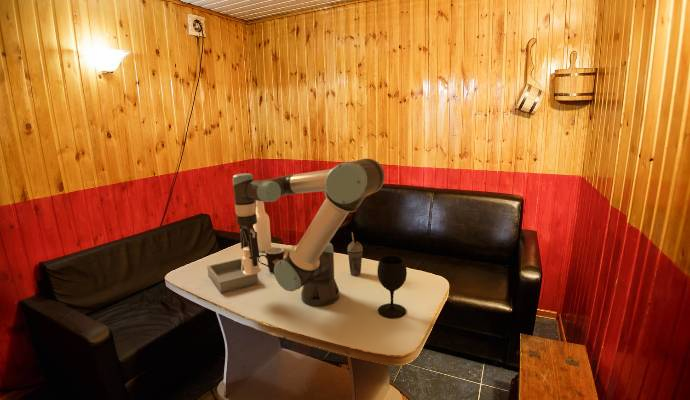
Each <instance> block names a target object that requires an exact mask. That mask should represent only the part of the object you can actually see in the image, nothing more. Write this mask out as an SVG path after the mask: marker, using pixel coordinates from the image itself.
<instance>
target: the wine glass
mask: <svg viewBox="0 0 690 400" xmlns="http://www.w3.org/2000/svg"><path fill="white" fill-rule="evenodd" d="M376 270H377V279H378V281H379V283H380V284H381V286H383V288H384V289H385V290H387V291H389V294H390V296H389V297H390V302H389V303H384V304H382V305H379V306H378V309H377V312H378V315H380V316H381V317H383V318H387V319H400V318H402V317H404V316H405V315H406V314H407V309H406V308H405V307H404V305H401V304H398V303H394V295H395V294H394V293H395V292H396V291H398V290H400V288H402V286H403V285H404V284H405V283H406V279H407V275H408V273H407V271H408V270H407V265H406V261H405V259H404V258H403V257H401V256H400V255H399V256H398V255H385V256H382V257H380V259H379V261H378V264H377V269H376Z"/></svg>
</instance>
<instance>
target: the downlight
mask: <svg viewBox="0 0 690 400" xmlns="http://www.w3.org/2000/svg"><path fill="white" fill-rule="evenodd" d="M242 254H243V255H242V257H241V258H242V259H243V260H242V266H243V265H244V271H243V274H245V275H253V274H251V264H250V259H249V257H251V256H250V251H249V246H247V247H244V248H243V249H242ZM257 259H258V257H257ZM259 261H260V262H259ZM259 261H258V269H259V273H260V272H261V271H262V268H261V265H262V264H261V262H262V258H261V257H260V258H259ZM242 266H241V270H242Z"/></svg>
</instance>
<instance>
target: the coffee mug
mask: <svg viewBox="0 0 690 400" xmlns="http://www.w3.org/2000/svg"><path fill="white" fill-rule="evenodd" d="M264 253H265V254H261V255H260V254H259V257H258V262H259V263H260V258H261V257H265V259H266V262H267V264H266V263H264V262H262V261H261V265H264V266H266V267H267V268H268V271H269V273H271V274H274V267H275V264H276V263H277V262H278V261H280V260H283V259H284V258H285V257H284V256H285V249H284V248H283V247H271V248H270V249H267V250H266V251H265V252H264Z"/></svg>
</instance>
